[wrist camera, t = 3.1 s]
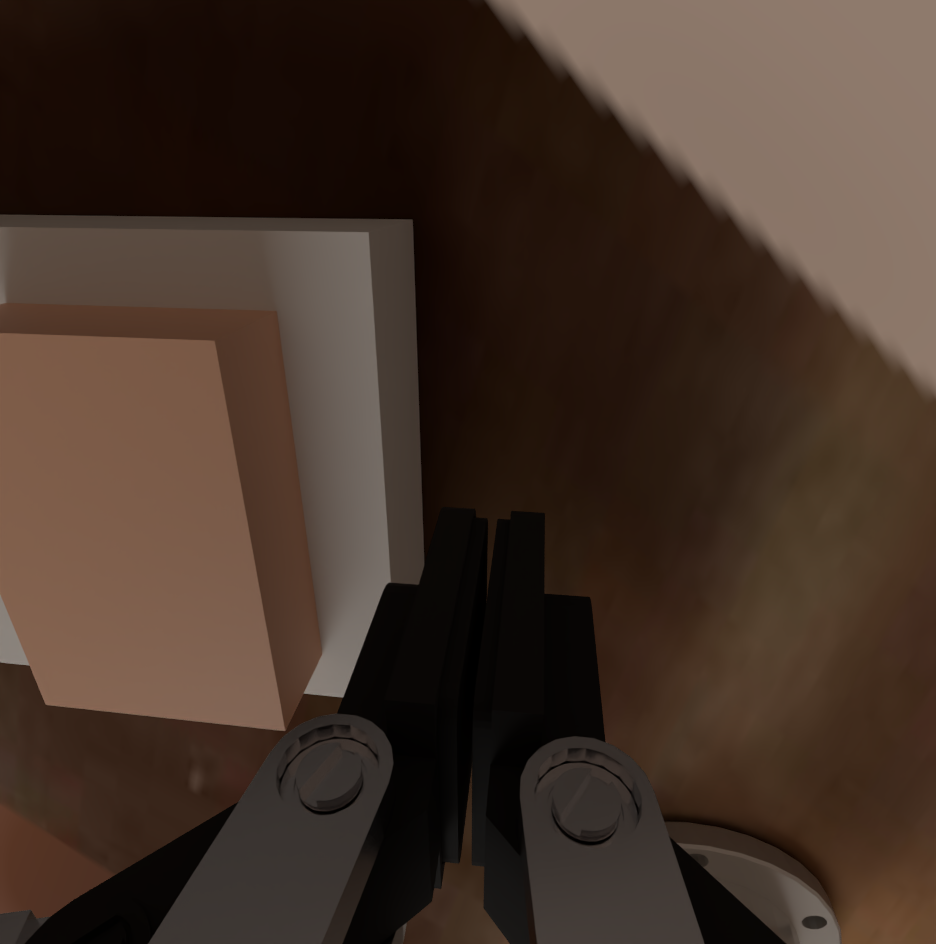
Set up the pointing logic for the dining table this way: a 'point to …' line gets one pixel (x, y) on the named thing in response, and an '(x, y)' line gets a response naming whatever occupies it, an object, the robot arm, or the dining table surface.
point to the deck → (306, 370)
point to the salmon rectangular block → (154, 512)
